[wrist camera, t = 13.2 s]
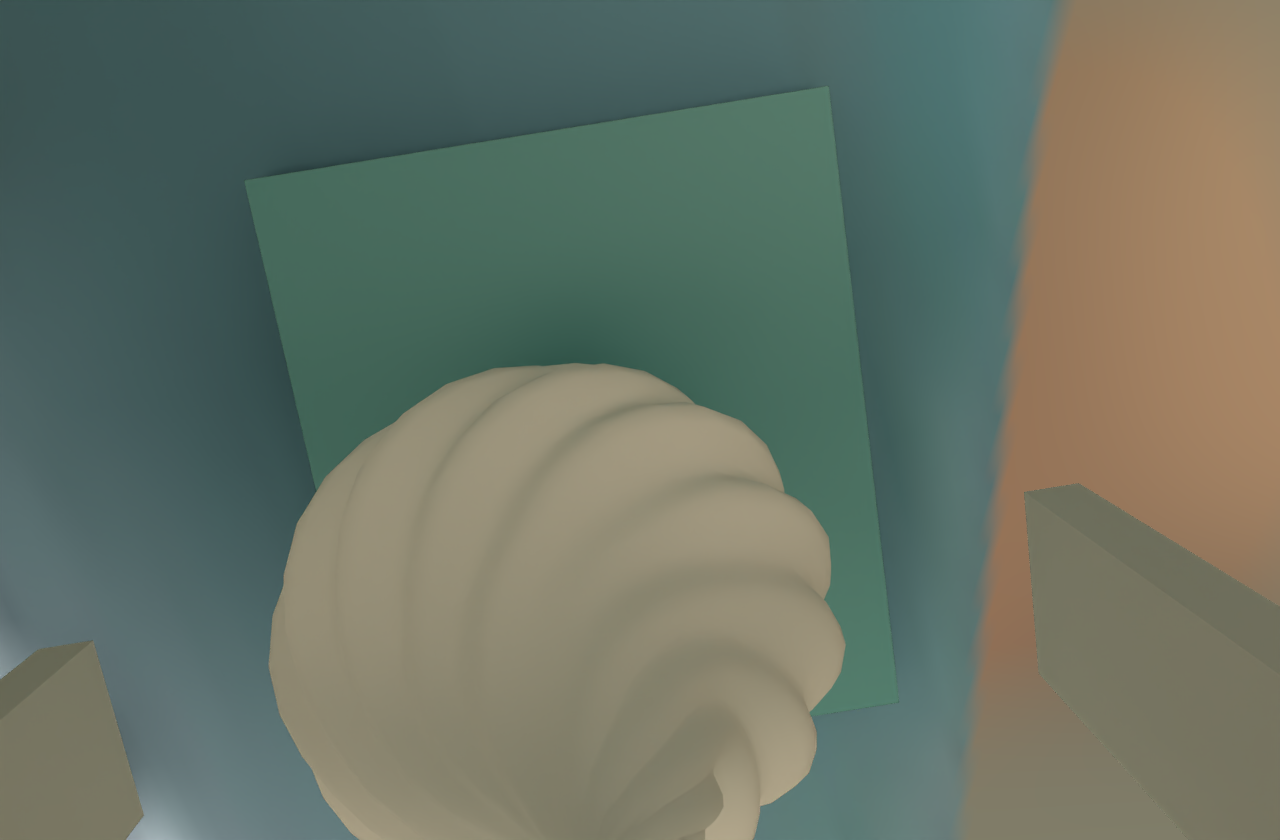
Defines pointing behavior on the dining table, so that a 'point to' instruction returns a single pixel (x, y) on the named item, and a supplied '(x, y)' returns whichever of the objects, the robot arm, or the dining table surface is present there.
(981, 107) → the dining table surface
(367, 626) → the soft serve ice cream cone
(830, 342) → the teal board
